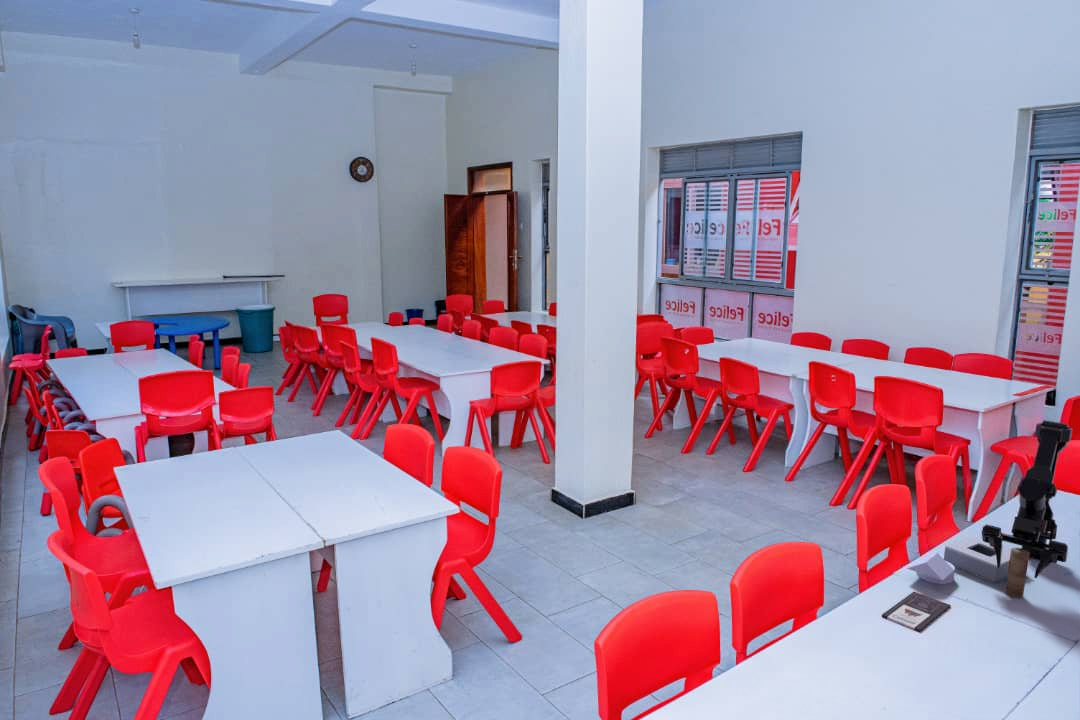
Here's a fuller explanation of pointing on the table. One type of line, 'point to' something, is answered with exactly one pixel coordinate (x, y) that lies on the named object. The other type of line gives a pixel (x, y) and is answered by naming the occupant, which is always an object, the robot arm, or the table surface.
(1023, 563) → the peg
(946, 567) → the wedge on round base
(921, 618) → the chocolate bar
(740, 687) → the table surface
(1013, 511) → the table surface
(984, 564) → the box
